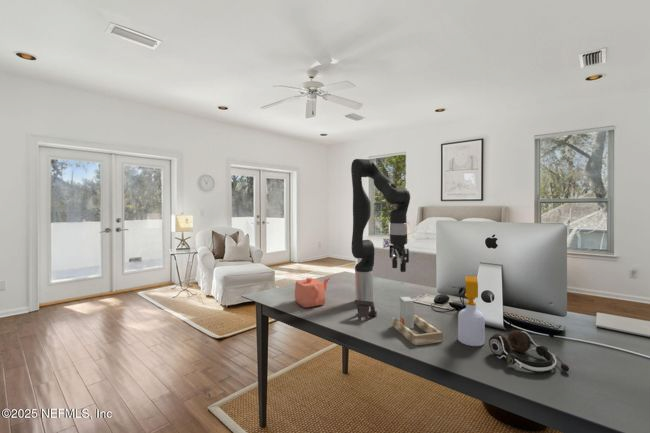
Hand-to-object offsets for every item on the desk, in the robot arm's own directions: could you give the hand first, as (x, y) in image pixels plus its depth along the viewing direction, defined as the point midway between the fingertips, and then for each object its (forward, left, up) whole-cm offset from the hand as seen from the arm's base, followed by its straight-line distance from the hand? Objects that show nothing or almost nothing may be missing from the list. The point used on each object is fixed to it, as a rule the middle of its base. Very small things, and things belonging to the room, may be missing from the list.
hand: (398, 269), depth 142 cm
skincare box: (+7, 0, -23) cm, 24 cm away
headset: (+44, +23, -23) cm, 55 cm away
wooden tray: (+14, 0, -23) cm, 27 cm away
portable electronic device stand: (-8, -13, -23) cm, 28 cm away
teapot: (-36, -31, -23) cm, 53 cm away
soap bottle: (+27, +16, -23) cm, 39 cm away
